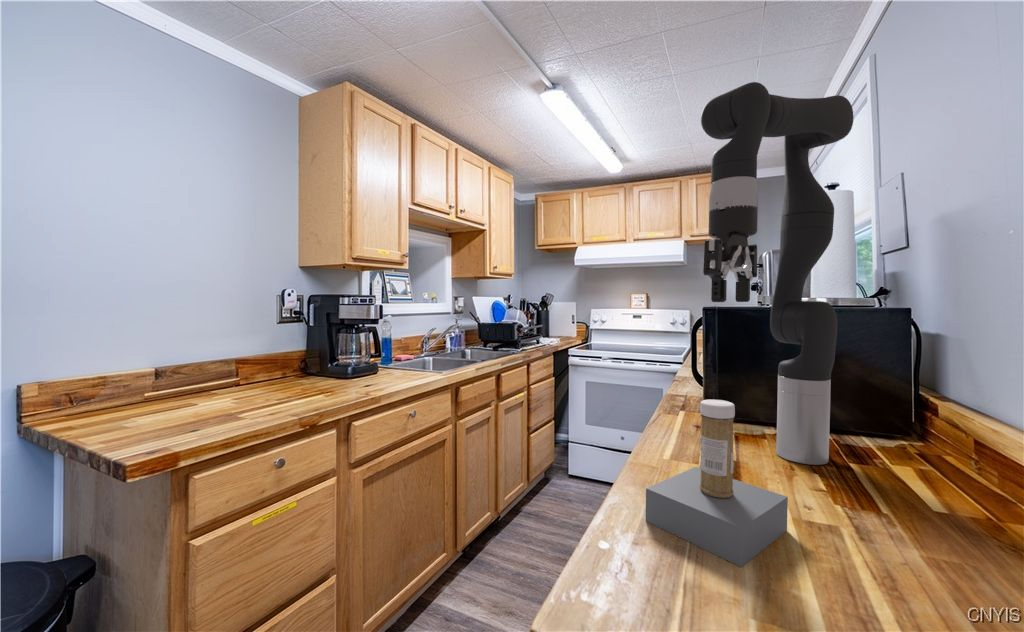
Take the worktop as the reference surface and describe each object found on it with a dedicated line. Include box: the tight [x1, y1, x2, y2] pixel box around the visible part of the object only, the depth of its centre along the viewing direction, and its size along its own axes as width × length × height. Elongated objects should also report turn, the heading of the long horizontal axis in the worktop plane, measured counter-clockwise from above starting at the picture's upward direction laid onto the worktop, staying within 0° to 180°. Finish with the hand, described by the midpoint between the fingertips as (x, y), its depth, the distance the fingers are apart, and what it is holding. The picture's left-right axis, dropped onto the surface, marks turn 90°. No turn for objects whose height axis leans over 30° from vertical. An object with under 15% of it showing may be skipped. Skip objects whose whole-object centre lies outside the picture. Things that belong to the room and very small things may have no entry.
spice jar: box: [699, 399, 736, 498], centre depth 63 cm, size 5×5×13 cm
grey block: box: [645, 466, 789, 568], centre depth 63 cm, size 14×14×5 cm
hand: (730, 302), depth 74 cm, fingers open, 8 cm apart
